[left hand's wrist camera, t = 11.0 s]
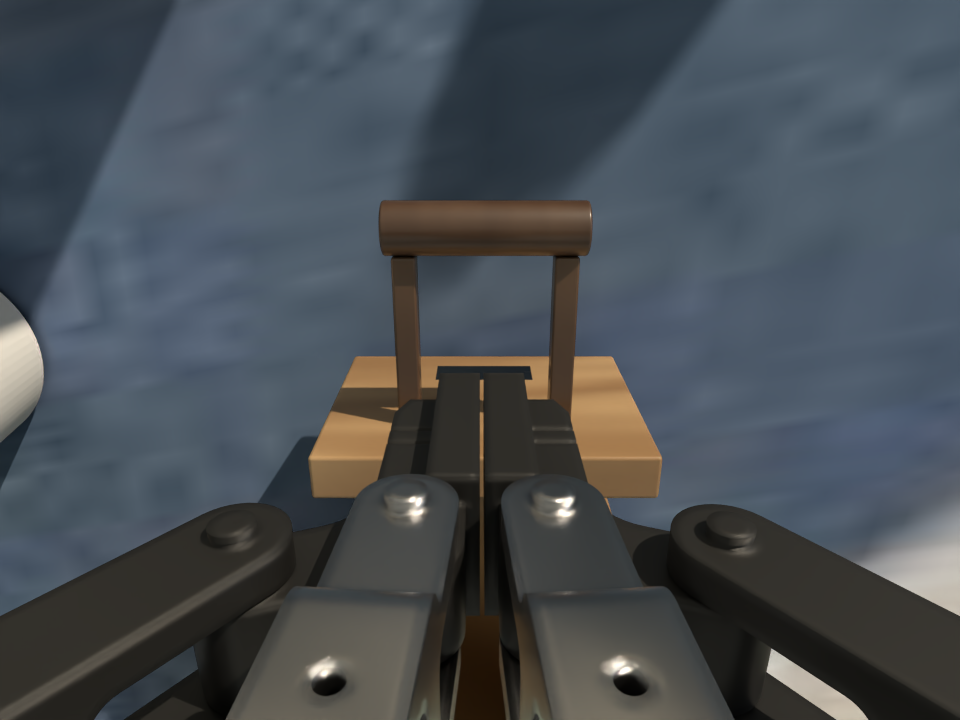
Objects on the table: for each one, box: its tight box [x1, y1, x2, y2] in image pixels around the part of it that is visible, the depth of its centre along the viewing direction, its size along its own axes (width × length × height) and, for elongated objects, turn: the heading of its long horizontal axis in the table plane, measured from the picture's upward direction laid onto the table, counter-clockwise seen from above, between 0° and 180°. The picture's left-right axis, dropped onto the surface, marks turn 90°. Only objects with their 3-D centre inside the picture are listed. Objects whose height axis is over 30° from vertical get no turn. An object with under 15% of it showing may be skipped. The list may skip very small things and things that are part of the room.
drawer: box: [308, 200, 662, 720], centre depth 22 cm, size 26×9×7 cm, turn 0°
